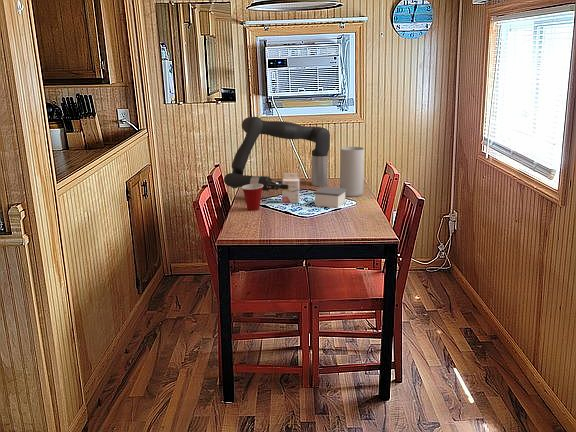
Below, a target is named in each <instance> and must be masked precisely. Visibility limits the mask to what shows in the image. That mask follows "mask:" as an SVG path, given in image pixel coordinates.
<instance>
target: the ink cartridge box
mask: <svg viewBox="0 0 576 432" xmlns="http://www.w3.org/2000/svg"><path fill="white" fill-rule="evenodd" d="M281 180H282V184H284V185H288V189H281V191H282V192H281V194H282V196H281V197H282V198H281V200H282V201H281V203H282V204H285V203H286V204H299V202H300V173H297V172H296V173H295V172H284V173H283V178H282V179H281Z"/></svg>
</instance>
